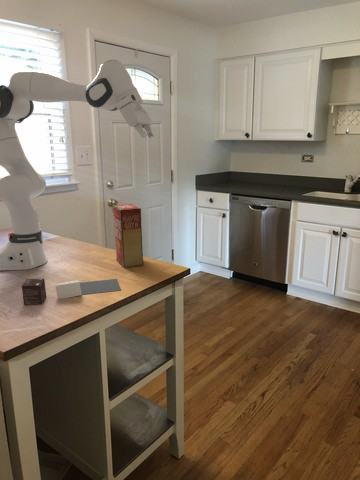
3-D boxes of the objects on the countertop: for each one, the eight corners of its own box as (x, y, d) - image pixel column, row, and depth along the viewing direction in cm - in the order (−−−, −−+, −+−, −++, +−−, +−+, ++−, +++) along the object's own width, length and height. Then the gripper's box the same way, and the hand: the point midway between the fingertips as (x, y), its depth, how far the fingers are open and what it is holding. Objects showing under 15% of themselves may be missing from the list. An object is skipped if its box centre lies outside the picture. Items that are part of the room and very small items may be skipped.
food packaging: (115, 259, 175) (112, 204, 168) (135, 256, 178) (133, 203, 172) (123, 268, 163) (120, 209, 157) (144, 265, 167) (142, 208, 160)
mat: (75, 296, 135) (75, 295, 135) (74, 284, 146) (74, 283, 146) (121, 291, 139) (121, 290, 139) (117, 279, 150) (116, 278, 150)
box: (29, 298, 133) (26, 278, 131) (46, 298, 133) (44, 278, 132) (23, 306, 127) (21, 285, 125) (42, 305, 128) (40, 284, 126)
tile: (57, 299, 132) (55, 285, 131) (57, 297, 134) (55, 283, 133) (81, 295, 134) (79, 281, 133) (81, 293, 136) (79, 279, 135)
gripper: (132, 109, 153) (148, 141, 155) (113, 104, 134) (132, 141, 136) (145, 101, 151) (162, 133, 153) (128, 95, 132) (147, 132, 134)
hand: (148, 137), depth 144 cm, fingers open, 8 cm apart
